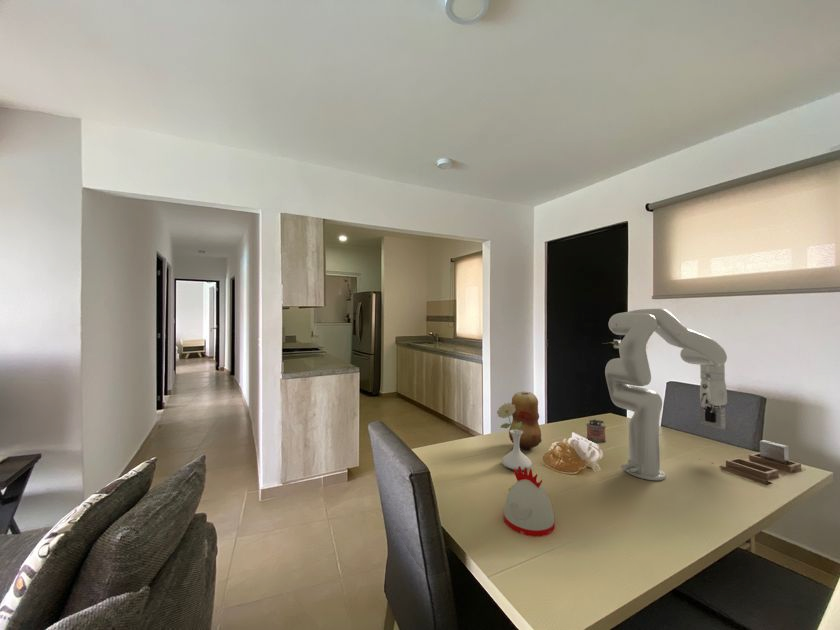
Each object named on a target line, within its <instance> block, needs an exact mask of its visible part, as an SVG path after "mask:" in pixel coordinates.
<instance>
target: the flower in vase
mask: <svg viewBox="0 0 840 630" xmlns="http://www.w3.org/2000/svg"><path fill="white" fill-rule="evenodd" d="M496 412H497V413H496V414H497V417H499V418H502V419H506V418H508V420H509V423H508V422H505V423H502V425H500V428H503V429H508V428H510V426H512V425H511V424H512V421H511V419H510V418H511V417H513V416H512V414H513V413H514V412H515V406H514V404H513V405H512V402H507V403H504V404H501V406H500V407H498V410H497V411H496ZM521 424H522V421H521V422H519V423H516V424H515V425H514V428H519V427H520V426H521ZM512 428H513V426H512ZM514 428H513V430H510V433H511V434H512V437H513V442H512V444H513V446H512V447H513V448H512V450H511V451H510V452H508V453H507V454H505V455H504V456H503V457H502V458H501V464H503V466H504V467H506V468H508V469H510V470H513V471H514V469H516V471H518V467H519V466H520V467H521V470H522V471H524V469H525V468H527V470H530V469H531V468H532V465H533V463H532V461H531V460H530V458H529V457H527V456H526V454H525V453H523V452H522V451H521V448H520V447H519V442H520V437H521V434H522V433H523V431H521V430H516V429H514Z"/></svg>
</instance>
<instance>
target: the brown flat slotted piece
mask: <svg viewBox="0 0 840 630" xmlns="http://www.w3.org/2000/svg"><path fill="white" fill-rule="evenodd" d="M720 469H721V471H723V472H727V473H729V474H732V475H735V476H739V477H741V478H744V479H746V480H749V481H753V482H755V483H758V484H761V485H764V486H769V485H772V484H774V482H772V480H776V479H779V478H782V477H785V476H788V475H792V474H796V473H798V472H803V471H806V468H803V467H802V463H799V462H797V461H793V460H789V465H785V464H781V463H778V462H774V461H771V460H768V459H764V458H761V457H760V451H759V452H756V453H751V454H748V459H747V458H746V459H743V458H739V457H733V458H732V459H726V460H725V464H722V465H721V466H720Z"/></svg>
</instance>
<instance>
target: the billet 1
mask: <svg viewBox="0 0 840 630" xmlns="http://www.w3.org/2000/svg"><path fill="white" fill-rule="evenodd" d="M709 407H710V408H711V406H709ZM713 413H715V423H712V422H708V421H705V411H704V408H703V407H702V406H701V405H700V425H702V426H706V427H710V428H713V429H718V430H726V428H727V427H726V424H727V423H726V422H727V420H726V408H724V407H722V408H720V407H715V406H714V412H713Z"/></svg>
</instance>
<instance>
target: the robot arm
mask: <svg viewBox="0 0 840 630" xmlns="http://www.w3.org/2000/svg"><path fill="white" fill-rule="evenodd" d="M608 328H609V330H610V331H611V332H612V334H614V335H618V336H624V337H623V338H622V340H621V341H620V344H619V347H618V352H619V357H617V358H612V359H610V360H609V361H608V362H606V366H605V370H604V373H605V374H604V375H605V381H606V384H607V388H608V392H609V393H608V394H609V396H610V400H611V401H612V403H613V404H614V406H616V407H617V408H621V409H623V410H627V411H630V412H633V415H632V416H631V418H630V419H629V421H628V451H629V452H628V454H629V455H628V456H629V457H628V459H627V462H626V463H625V464H622V465H621V466H620V468H621V470H622V471H624V472H625V471H626V473H628V475H631V476H634V477H637V478H639V479H643V480H648V481H663V480H664V479H666V473H665V472H664V471H663V470H662V469H661V460H660V458H661V457H660V456H661V455H660V453H661V452H660V451H661V449H660V420H661V419H660V418H661V417H660V416H661V412H662V408H663V400H662V399H663V398H662V397H661V395H660V394H659V393H657V392H656V391H654V390H653V389H649V388H644V387H646V386H648V385H650V383H651V381H652V372H651V368H650V363H649V359H648V354H647V344H648V341H649V340H650V338H651V337H652V335H653V334H654V332H655V334H657V335H658V336H659V337H661V338H662V339H663V340H664V341H665V342H666V343H668V345H671V346H674V347H677V348H680V349H681V351H680V358H681V359H682V361H684V362H685V363H688V364H691V365H698V366H699V365H700V366H699V367H700V370H699V371H700V385H699V400H700V401H699V402H700V407H701V406H702V407H703V408H704V411H705V421H708V422H712V423H715V413H713V412H714V406H715V407H720V408H723V406H724V405H727V404H728V392H727V384H726V377H725V376H726V375H725V372H726V371H725V369H726V368H725V363H726V362H727V359H728V357H727V353H726V350H725V349H724V348H723V347H722V345H720V344H719V343H718V342H717V341H716V340H714V339H713V338H711V337H709V336H707V335H705V334H702V333H700V332H697V331H694V330H692V329H689V328H688V327H686V326H685V325H684V324H683V323H682V322H681V321H680V320H679V319H677V317H675V316H674V315H673V314H672V313H671V312H670V311H668V310H667V309H665V308H640V309H634V310H630V311H626V312H625V311H624V312H618V313H615V314H613V315H612V316H611V317H610V318H609V321H608ZM709 406H711V408H710V407H709Z"/></svg>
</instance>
